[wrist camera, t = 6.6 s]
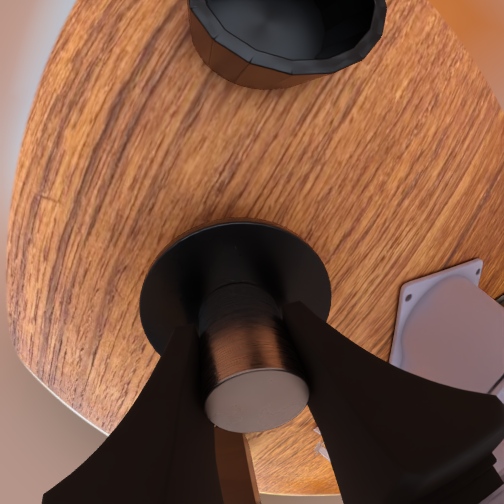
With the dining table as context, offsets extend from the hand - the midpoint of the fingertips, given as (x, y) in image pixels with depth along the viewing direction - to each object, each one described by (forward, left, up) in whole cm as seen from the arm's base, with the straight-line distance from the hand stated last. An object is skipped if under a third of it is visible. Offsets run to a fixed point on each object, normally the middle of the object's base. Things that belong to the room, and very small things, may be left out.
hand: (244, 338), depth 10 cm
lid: (0, 0, -2) cm, 2 cm away
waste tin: (+11, -3, -6) cm, 13 cm away
